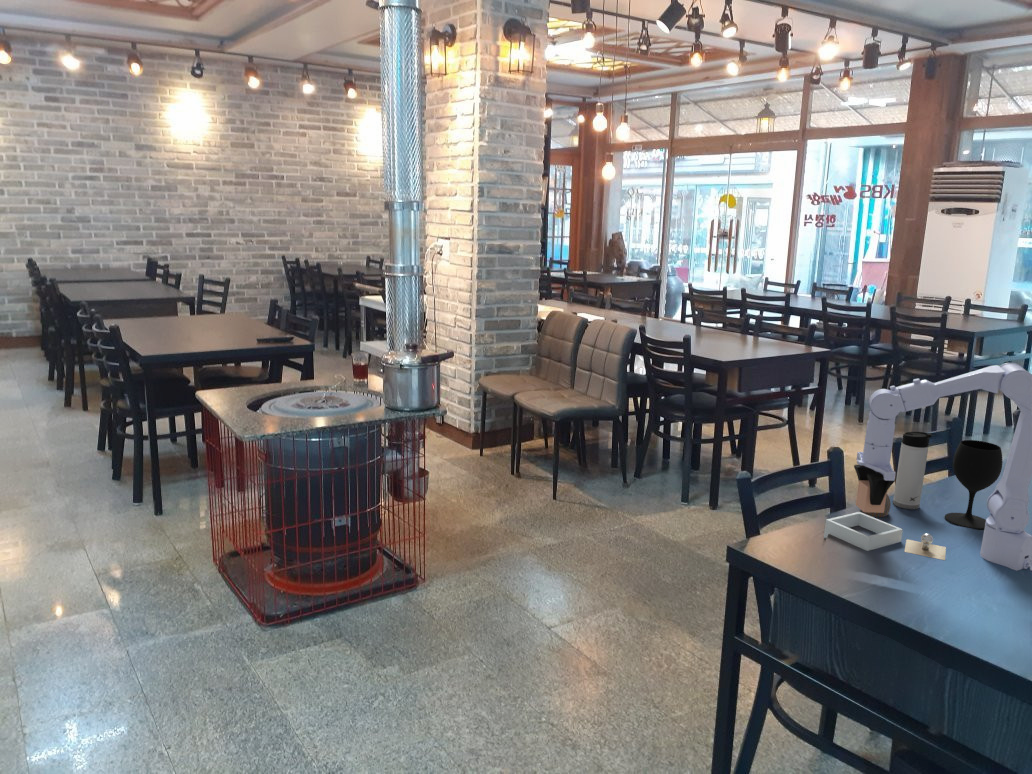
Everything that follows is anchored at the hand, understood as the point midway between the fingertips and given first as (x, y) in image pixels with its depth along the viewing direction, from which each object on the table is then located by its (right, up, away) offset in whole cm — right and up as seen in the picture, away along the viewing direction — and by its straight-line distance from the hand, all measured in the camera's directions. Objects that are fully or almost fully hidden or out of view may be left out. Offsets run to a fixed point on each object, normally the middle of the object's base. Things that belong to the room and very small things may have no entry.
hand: (870, 500), depth 181 cm
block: (0, -2, 0) cm, 2 cm away
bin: (-1, -10, +3) cm, 11 cm away
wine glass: (+32, -8, +17) cm, 37 cm away
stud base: (+11, -12, -3) cm, 16 cm away
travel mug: (+22, -5, +27) cm, 35 cm away
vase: (+9, -7, +18) cm, 21 cm away
